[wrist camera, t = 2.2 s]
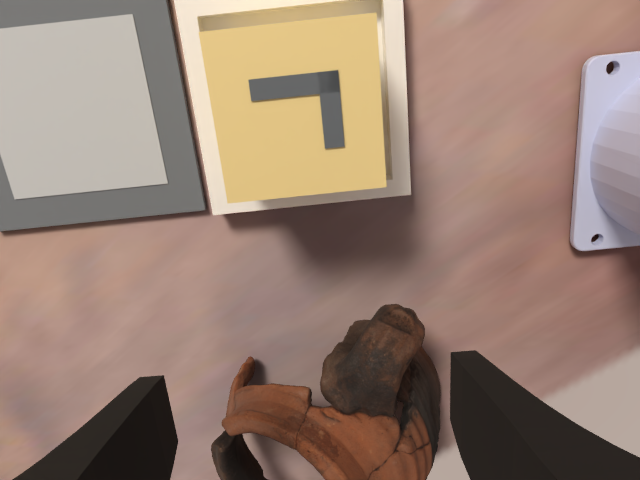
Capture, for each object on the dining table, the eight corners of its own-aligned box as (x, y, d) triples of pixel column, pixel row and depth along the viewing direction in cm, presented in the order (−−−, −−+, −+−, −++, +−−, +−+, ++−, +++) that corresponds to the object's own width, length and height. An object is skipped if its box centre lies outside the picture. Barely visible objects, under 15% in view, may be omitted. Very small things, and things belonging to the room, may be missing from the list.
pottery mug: (420, 467, 27) (355, 619, 21) (276, 375, 30) (179, 484, 23) (520, 304, 20) (469, 453, 14) (322, 206, 23) (204, 293, 17)
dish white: (396, -24, 18) (401, -29, 17) (405, 187, 21) (411, 194, 20) (181, 1, 19) (173, -3, 18) (218, 206, 21) (213, 214, 20)
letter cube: (360, 24, 19) (377, 12, 14) (369, 157, 20) (386, 187, 16) (226, 39, 19) (198, 31, 14) (246, 170, 20) (227, 204, 16)
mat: (162, -28, 18) (160, -30, 18) (206, 208, 21) (204, 210, 21) (-79, -1, 18) (-86, -2, 18) (-2, 229, 21) (-7, 232, 21)
